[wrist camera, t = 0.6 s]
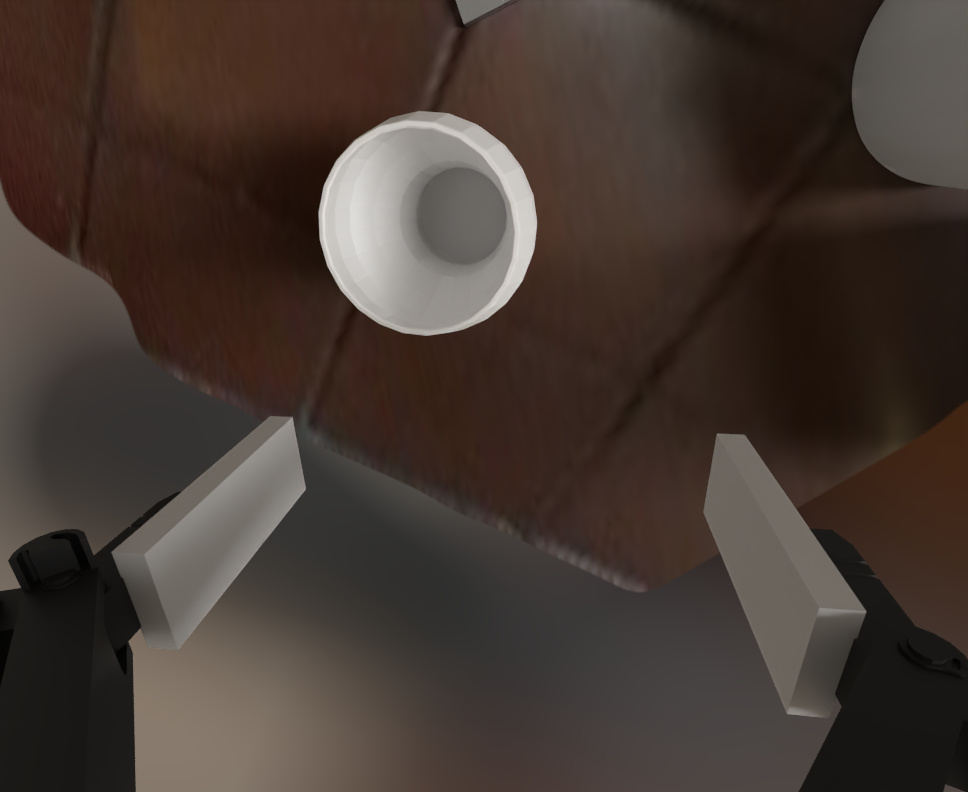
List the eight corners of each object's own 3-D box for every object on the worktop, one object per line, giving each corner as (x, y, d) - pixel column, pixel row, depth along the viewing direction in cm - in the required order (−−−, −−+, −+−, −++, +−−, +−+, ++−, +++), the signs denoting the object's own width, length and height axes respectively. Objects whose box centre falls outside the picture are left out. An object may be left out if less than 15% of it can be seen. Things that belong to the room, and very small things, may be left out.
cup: (370, 190, 38) (260, 198, 24) (492, 96, 35) (445, 45, 21) (451, 313, 41) (394, 383, 27) (571, 237, 37) (576, 273, 24)
